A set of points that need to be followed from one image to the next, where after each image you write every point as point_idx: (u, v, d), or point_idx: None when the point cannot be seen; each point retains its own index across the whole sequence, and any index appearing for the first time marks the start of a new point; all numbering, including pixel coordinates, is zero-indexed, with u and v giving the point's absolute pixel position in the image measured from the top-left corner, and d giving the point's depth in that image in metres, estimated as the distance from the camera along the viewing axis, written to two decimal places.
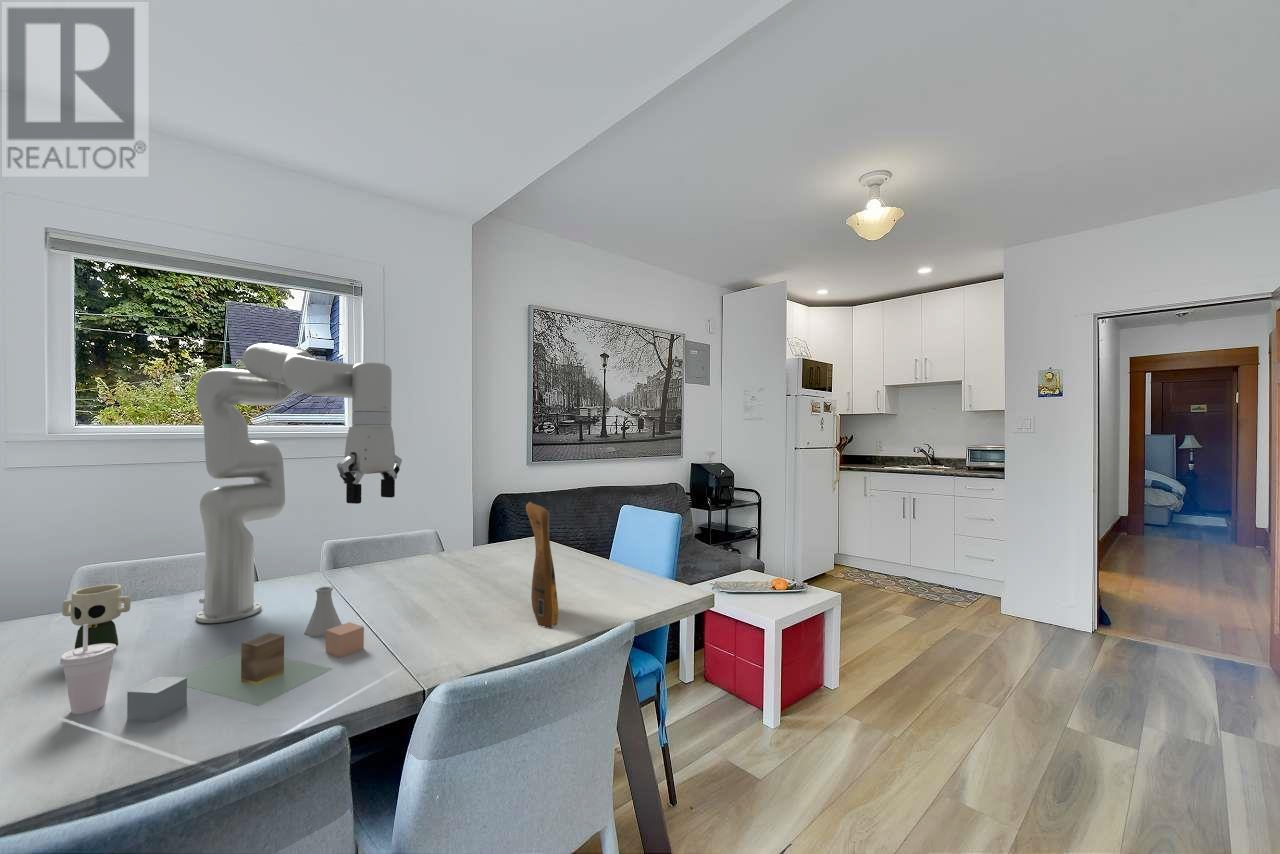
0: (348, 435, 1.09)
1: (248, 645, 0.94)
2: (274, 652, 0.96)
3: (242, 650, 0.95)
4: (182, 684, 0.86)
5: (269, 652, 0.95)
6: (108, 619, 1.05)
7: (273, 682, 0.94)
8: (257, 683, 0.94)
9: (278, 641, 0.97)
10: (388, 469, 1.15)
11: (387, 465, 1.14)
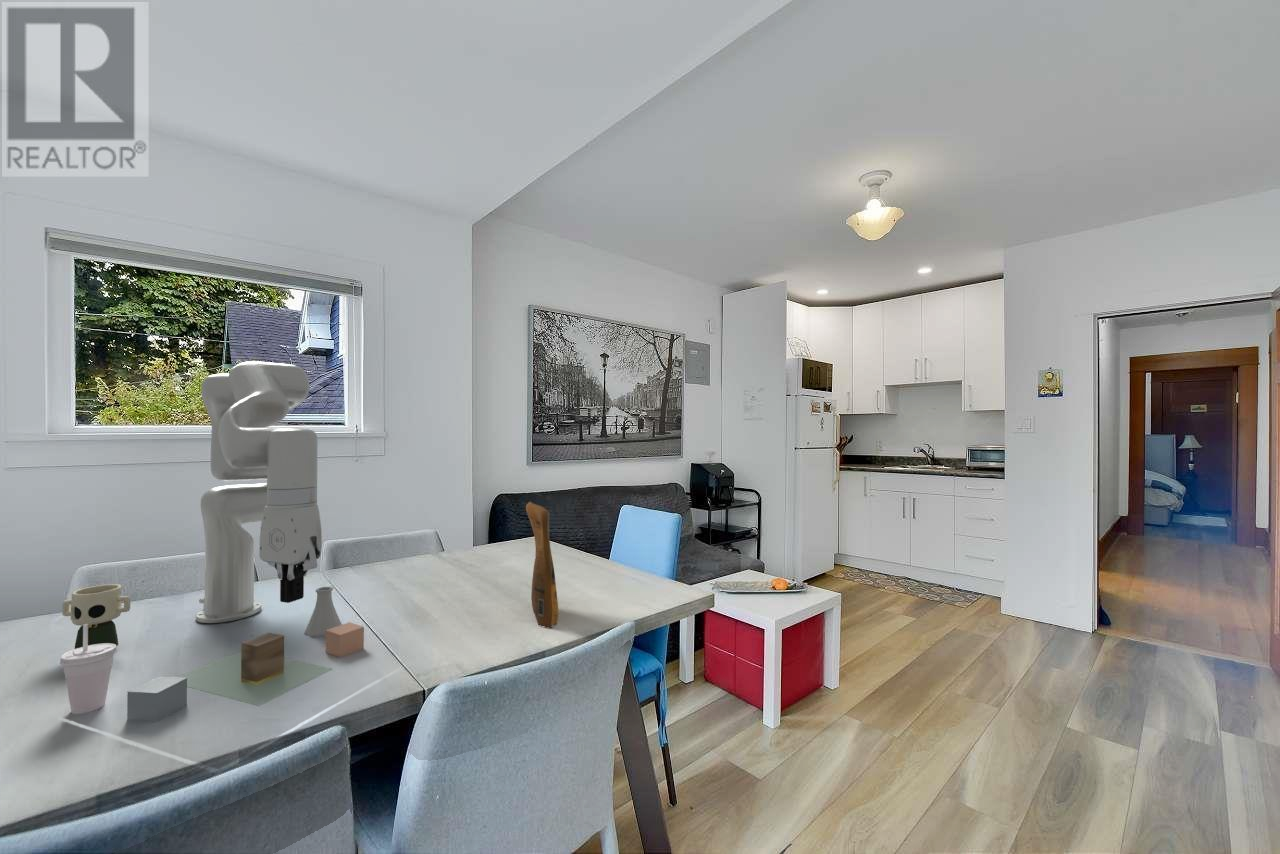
0: (302, 518, 0.91)
1: (248, 645, 0.94)
2: (274, 652, 0.96)
3: (242, 650, 0.95)
4: (182, 684, 0.86)
5: (269, 652, 0.95)
6: (108, 619, 1.05)
7: (273, 682, 0.94)
8: (257, 683, 0.94)
9: (278, 641, 0.97)
10: None
11: None
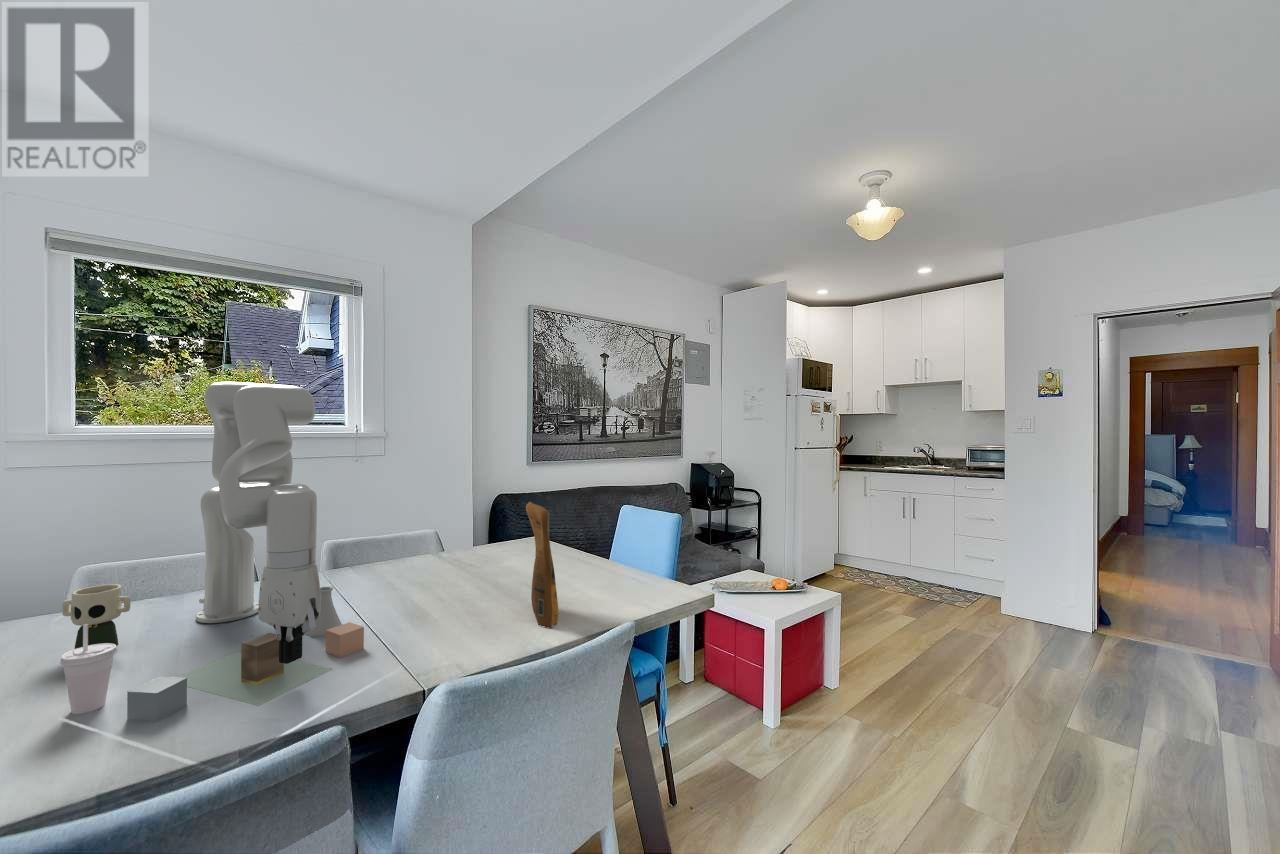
0: (301, 581, 0.91)
1: (248, 645, 0.94)
2: (274, 652, 0.96)
3: (242, 650, 0.95)
4: (182, 684, 0.86)
5: (269, 652, 0.95)
6: (108, 619, 1.05)
7: (273, 682, 0.94)
8: (257, 683, 0.94)
9: (278, 641, 0.97)
10: None
11: None
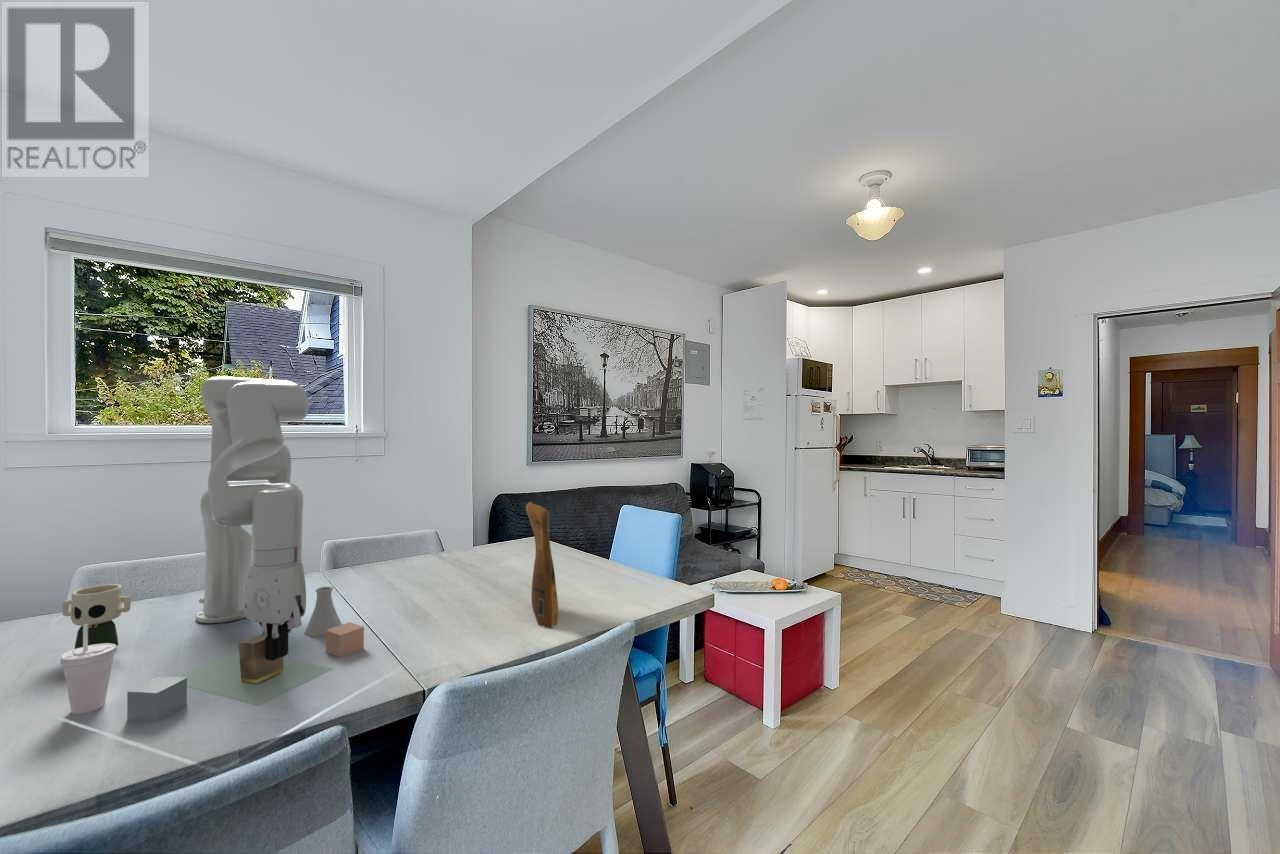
0: (286, 578, 0.92)
1: (245, 643, 0.94)
2: None
3: (239, 650, 0.95)
4: (182, 684, 0.86)
5: None
6: (108, 619, 1.05)
7: (273, 682, 0.94)
8: (257, 681, 0.94)
9: None
10: None
11: None
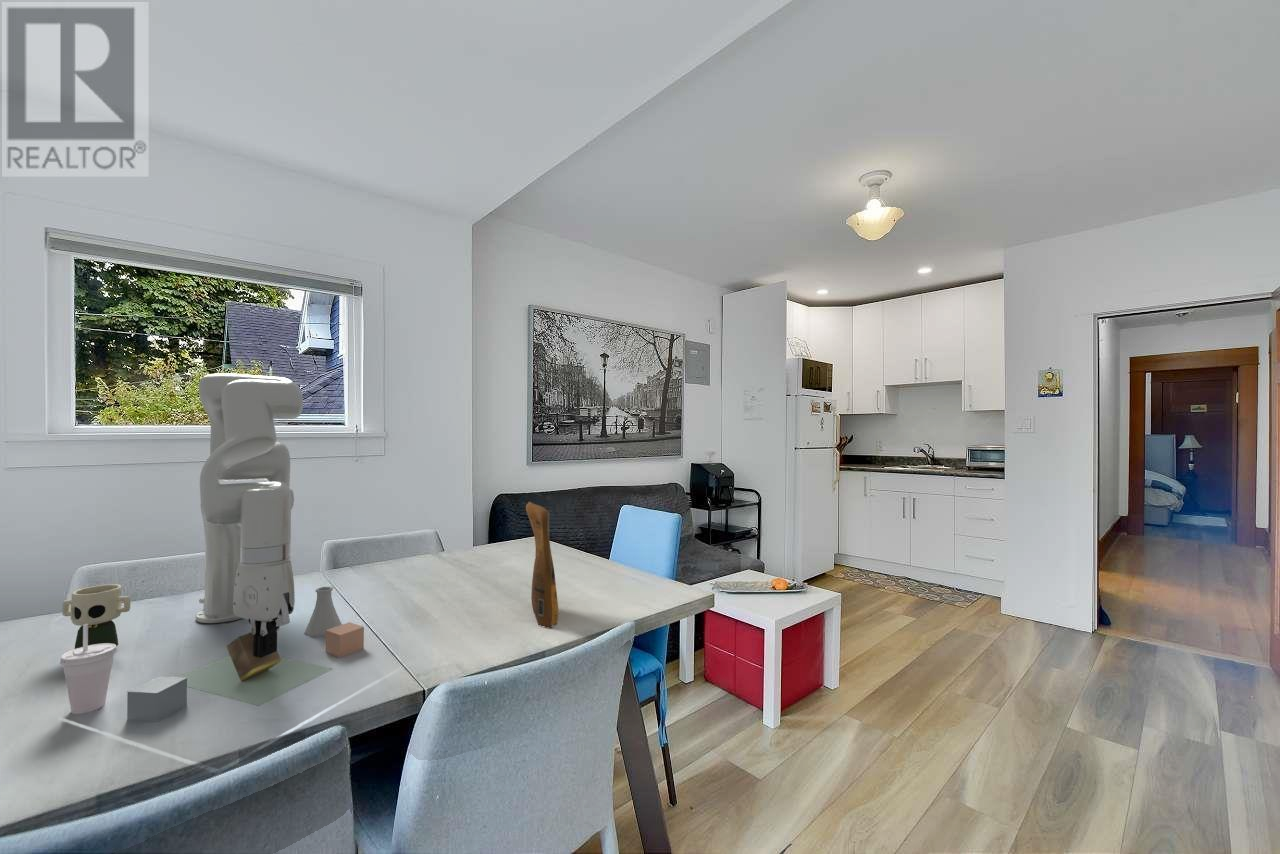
0: (274, 576, 0.93)
1: (232, 642, 0.95)
2: None
3: (229, 652, 0.96)
4: (182, 684, 0.86)
5: None
6: (108, 619, 1.05)
7: (273, 682, 0.94)
8: (254, 670, 0.94)
9: None
10: None
11: None
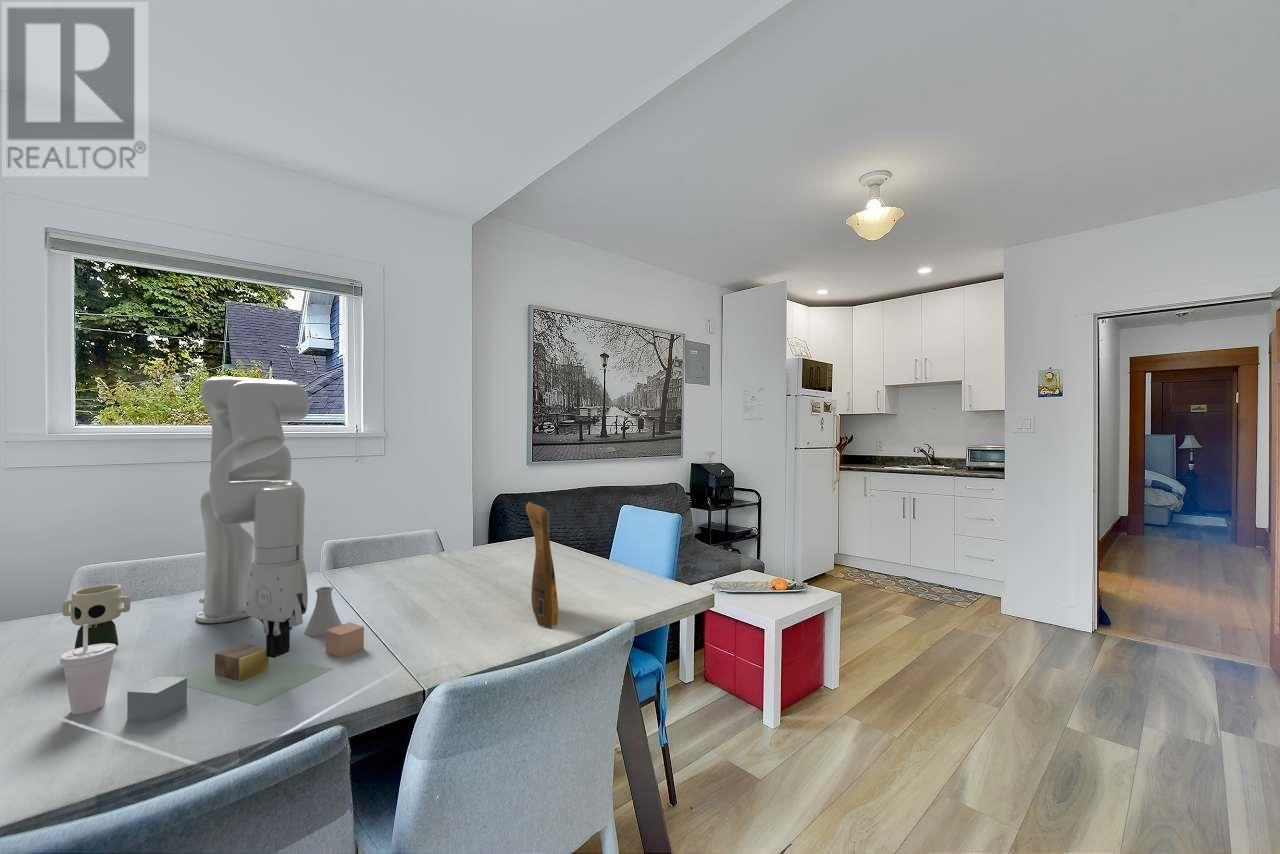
0: (288, 576, 0.92)
1: (215, 665, 0.97)
2: (242, 648, 0.99)
3: (219, 675, 0.96)
4: (182, 684, 0.86)
5: (235, 650, 0.98)
6: (108, 619, 1.05)
7: (273, 682, 0.94)
8: (241, 659, 0.95)
9: (239, 645, 1.00)
10: None
11: None
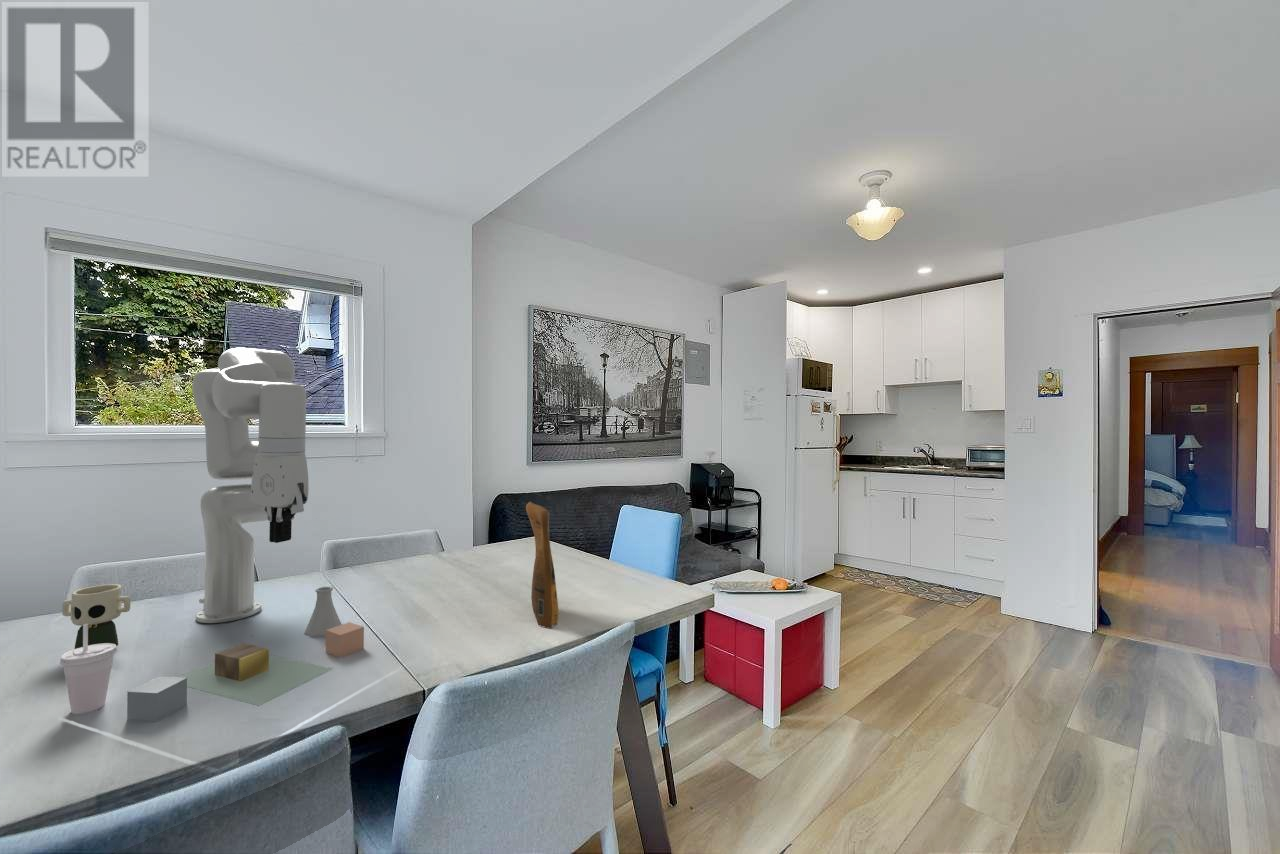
0: (290, 465, 0.98)
1: (215, 665, 0.97)
2: (242, 648, 0.99)
3: (219, 675, 0.96)
4: (182, 684, 0.86)
5: (235, 650, 0.98)
6: (108, 619, 1.05)
7: (273, 682, 0.94)
8: (241, 659, 0.95)
9: (239, 645, 1.00)
10: None
11: None
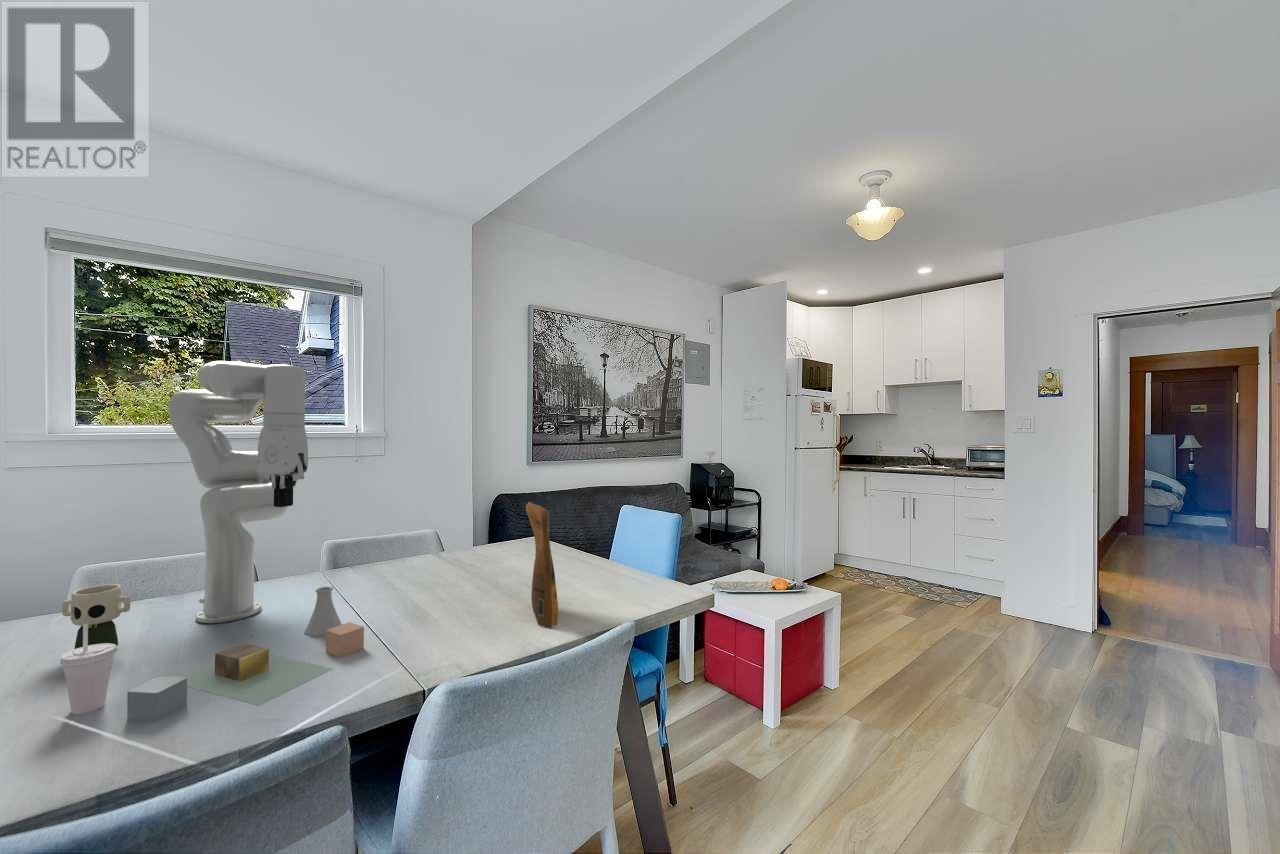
0: (292, 437, 1.11)
1: (215, 665, 0.97)
2: (242, 648, 0.99)
3: (219, 675, 0.96)
4: (182, 684, 0.86)
5: (235, 650, 0.98)
6: (108, 619, 1.05)
7: (273, 682, 0.94)
8: (241, 659, 0.95)
9: (239, 645, 1.00)
10: None
11: None
